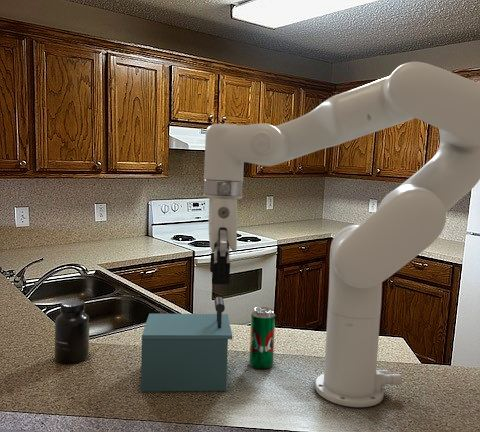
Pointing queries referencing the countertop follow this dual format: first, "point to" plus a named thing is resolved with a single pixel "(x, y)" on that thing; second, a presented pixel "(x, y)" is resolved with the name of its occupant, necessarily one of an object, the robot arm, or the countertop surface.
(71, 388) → the countertop surface
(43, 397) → the countertop surface
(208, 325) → the teal box lid
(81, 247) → the countertop surface
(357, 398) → the robot arm
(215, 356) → the teal box
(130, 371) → the countertop surface
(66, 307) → the supplement bottle
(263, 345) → the soda can
